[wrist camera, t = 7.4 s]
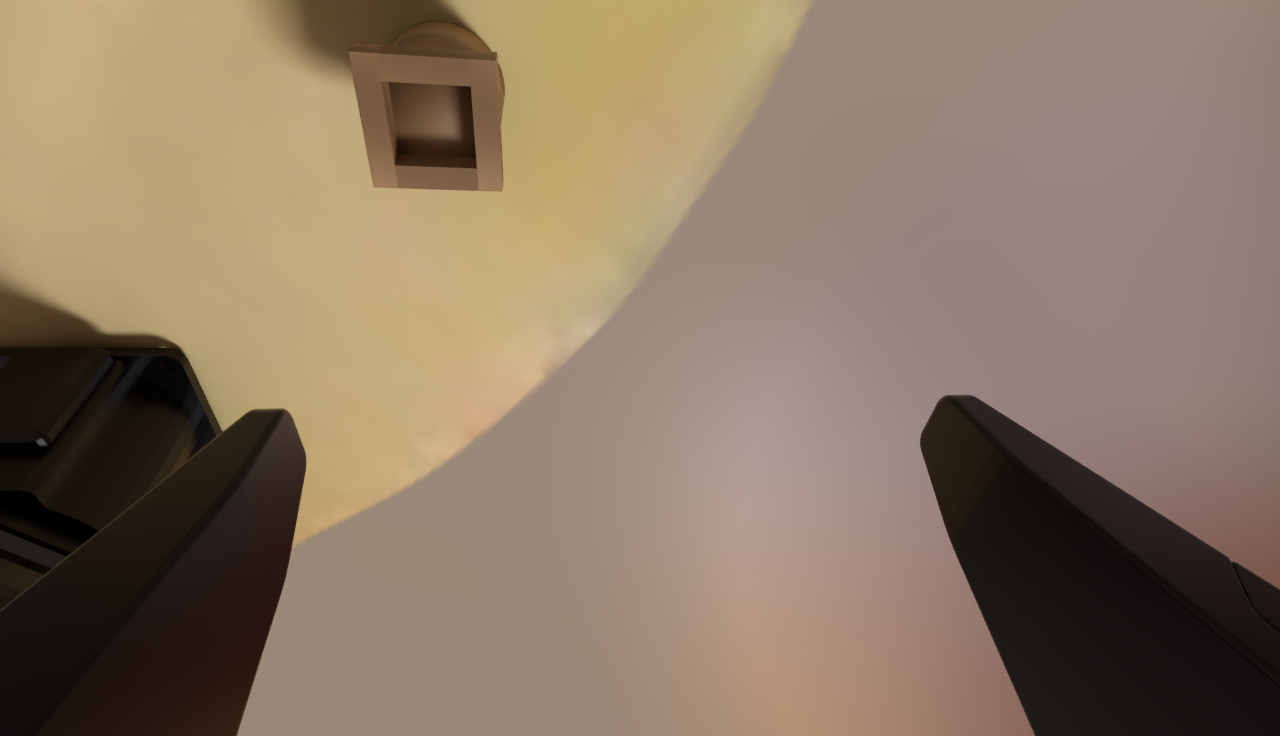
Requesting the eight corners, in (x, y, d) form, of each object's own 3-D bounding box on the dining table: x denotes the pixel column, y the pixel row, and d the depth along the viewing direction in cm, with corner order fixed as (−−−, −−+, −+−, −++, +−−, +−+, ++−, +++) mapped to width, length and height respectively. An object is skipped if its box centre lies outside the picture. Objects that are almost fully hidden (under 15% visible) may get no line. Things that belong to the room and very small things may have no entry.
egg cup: (507, 143, 19) (502, 191, 17) (394, 138, 19) (373, 187, 16) (501, 25, 17) (495, 61, 15) (375, 16, 17) (348, 51, 14)
